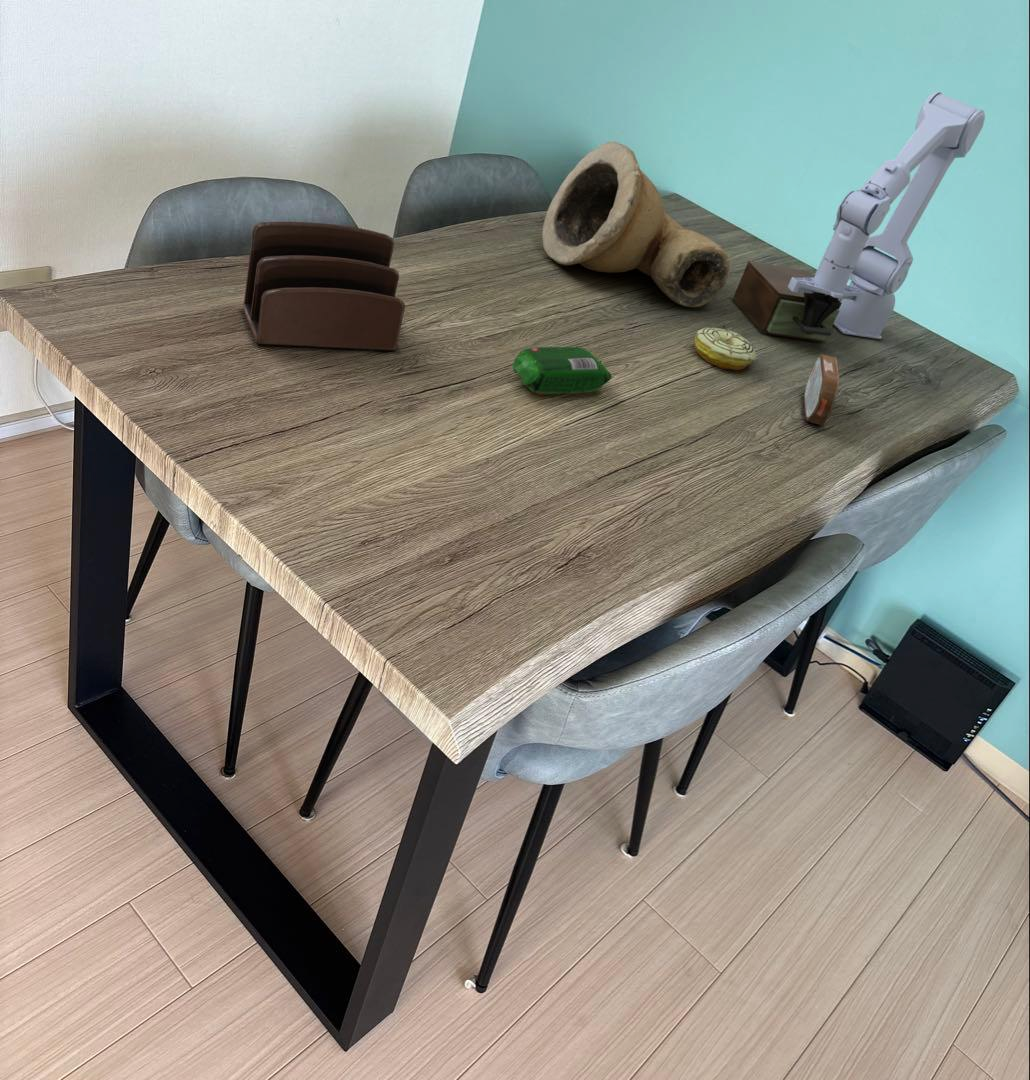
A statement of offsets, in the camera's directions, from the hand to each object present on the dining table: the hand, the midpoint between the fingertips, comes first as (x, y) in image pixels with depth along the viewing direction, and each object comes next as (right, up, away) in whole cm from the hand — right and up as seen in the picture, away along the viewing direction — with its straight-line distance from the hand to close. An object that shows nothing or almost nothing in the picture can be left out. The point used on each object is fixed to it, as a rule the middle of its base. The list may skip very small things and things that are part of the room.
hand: (806, 331), depth 186 cm
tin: (-5, -17, -20) cm, 27 cm away
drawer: (-2, +2, +5) cm, 6 cm away
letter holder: (-81, -9, -43) cm, 92 cm away
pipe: (-32, +12, +7) cm, 35 cm away
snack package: (-47, -16, -36) cm, 62 cm away
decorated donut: (-18, -7, -12) cm, 23 cm away
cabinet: (-3, +4, +9) cm, 10 cm away
